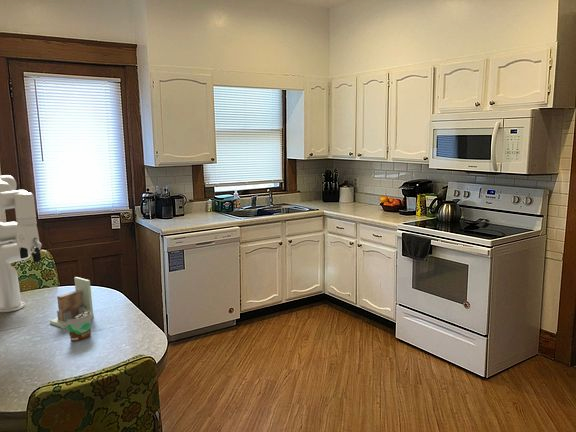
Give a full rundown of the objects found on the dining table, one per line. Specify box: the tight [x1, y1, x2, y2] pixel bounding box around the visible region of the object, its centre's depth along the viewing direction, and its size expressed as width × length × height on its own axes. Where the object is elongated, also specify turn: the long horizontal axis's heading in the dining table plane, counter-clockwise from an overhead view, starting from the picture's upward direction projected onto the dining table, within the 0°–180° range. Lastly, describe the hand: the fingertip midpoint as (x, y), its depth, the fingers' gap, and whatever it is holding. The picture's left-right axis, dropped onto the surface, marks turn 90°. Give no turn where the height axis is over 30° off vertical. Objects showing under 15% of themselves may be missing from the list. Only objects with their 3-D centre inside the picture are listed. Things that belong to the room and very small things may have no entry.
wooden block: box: [56, 289, 83, 321], centre depth 222 cm, size 10×3×11 cm, turn 145°
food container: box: [67, 309, 93, 343], centre depth 204 cm, size 12×6×10 cm, turn 168°
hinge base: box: [49, 276, 95, 329], centre depth 222 cm, size 15×10×18 cm, turn 146°
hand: (30, 259), depth 216 cm, fingers open, 9 cm apart
